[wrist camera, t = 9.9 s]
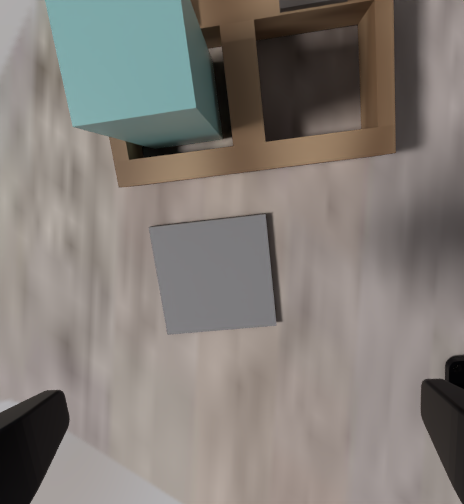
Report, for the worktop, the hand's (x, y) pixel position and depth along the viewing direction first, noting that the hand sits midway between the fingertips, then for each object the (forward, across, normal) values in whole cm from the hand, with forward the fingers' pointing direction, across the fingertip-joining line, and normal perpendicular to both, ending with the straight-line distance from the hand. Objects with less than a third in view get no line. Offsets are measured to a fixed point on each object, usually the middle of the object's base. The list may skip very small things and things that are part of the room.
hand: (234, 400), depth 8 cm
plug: (+12, +3, -10) cm, 16 cm away
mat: (+12, +2, 0) cm, 13 cm away
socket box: (+12, 0, -10) cm, 16 cm away
